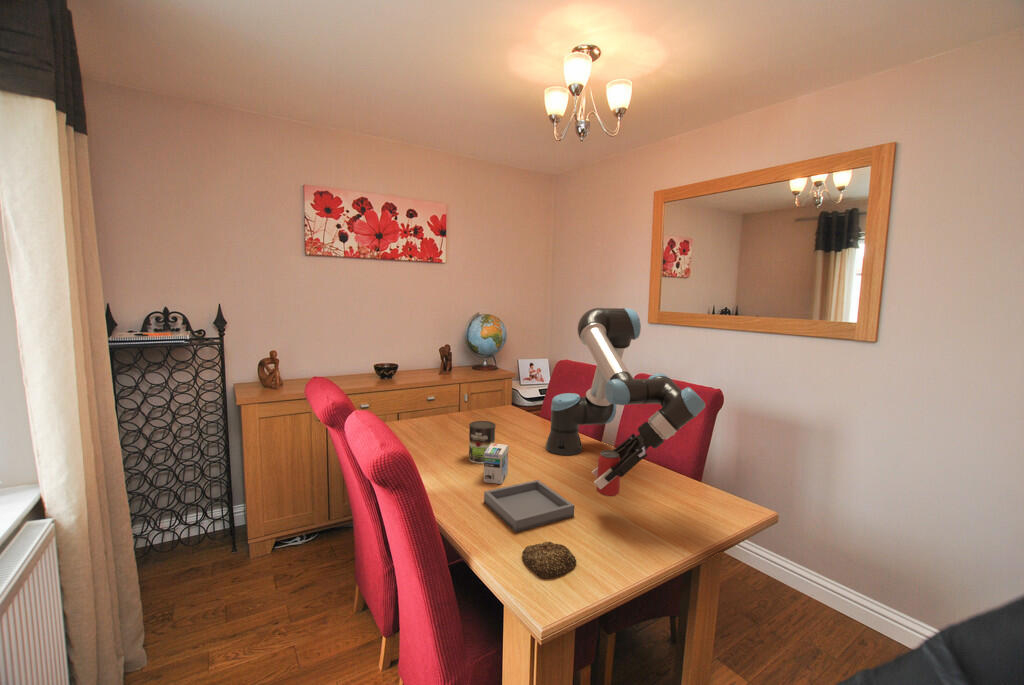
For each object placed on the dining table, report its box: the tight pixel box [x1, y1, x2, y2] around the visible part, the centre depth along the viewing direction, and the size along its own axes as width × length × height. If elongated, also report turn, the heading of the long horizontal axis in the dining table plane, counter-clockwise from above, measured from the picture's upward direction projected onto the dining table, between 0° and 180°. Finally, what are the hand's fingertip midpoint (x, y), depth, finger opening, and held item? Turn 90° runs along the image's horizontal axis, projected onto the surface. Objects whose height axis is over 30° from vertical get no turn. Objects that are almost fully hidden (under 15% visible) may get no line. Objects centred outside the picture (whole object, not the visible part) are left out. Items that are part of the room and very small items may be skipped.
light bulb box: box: [483, 442, 509, 485], centre depth 158 cm, size 11×7×11 cm, turn 168°
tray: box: [483, 479, 575, 534], centre depth 136 cm, size 20×20×4 cm
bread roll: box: [521, 541, 577, 579], centre depth 110 cm, size 13×12×5 cm
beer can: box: [596, 449, 621, 497], centre depth 132 cm, size 7×7×12 cm
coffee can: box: [468, 420, 496, 465], centre depth 175 cm, size 10×10×14 cm
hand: (596, 480), depth 133 cm, fingers closed on beer can, 6 cm apart
